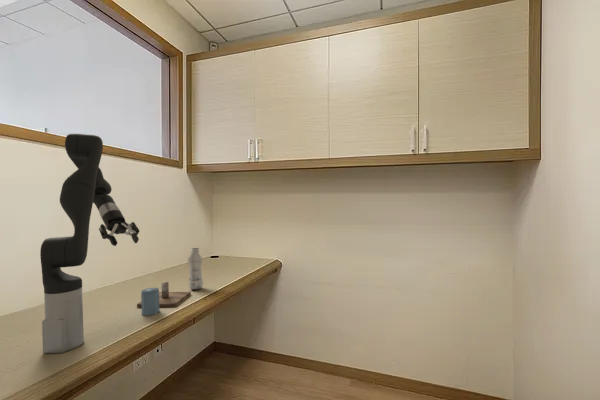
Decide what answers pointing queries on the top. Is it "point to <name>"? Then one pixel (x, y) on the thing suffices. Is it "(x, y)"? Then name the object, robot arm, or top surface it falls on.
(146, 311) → the blue-grey rounded cylinder
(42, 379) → the top surface
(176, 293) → the post dock
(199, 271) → the plastic bottle
